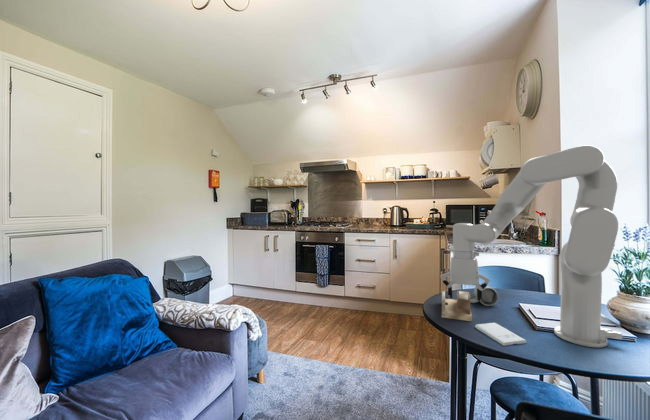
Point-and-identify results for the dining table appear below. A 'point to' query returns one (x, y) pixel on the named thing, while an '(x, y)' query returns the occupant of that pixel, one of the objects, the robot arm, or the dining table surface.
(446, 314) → the oak ledge
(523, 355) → the dining table surface
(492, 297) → the ceramic mug
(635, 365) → the dining table surface
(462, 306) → the brown rectangular block
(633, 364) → the dining table surface
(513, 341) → the external hard drive
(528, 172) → the robot arm
